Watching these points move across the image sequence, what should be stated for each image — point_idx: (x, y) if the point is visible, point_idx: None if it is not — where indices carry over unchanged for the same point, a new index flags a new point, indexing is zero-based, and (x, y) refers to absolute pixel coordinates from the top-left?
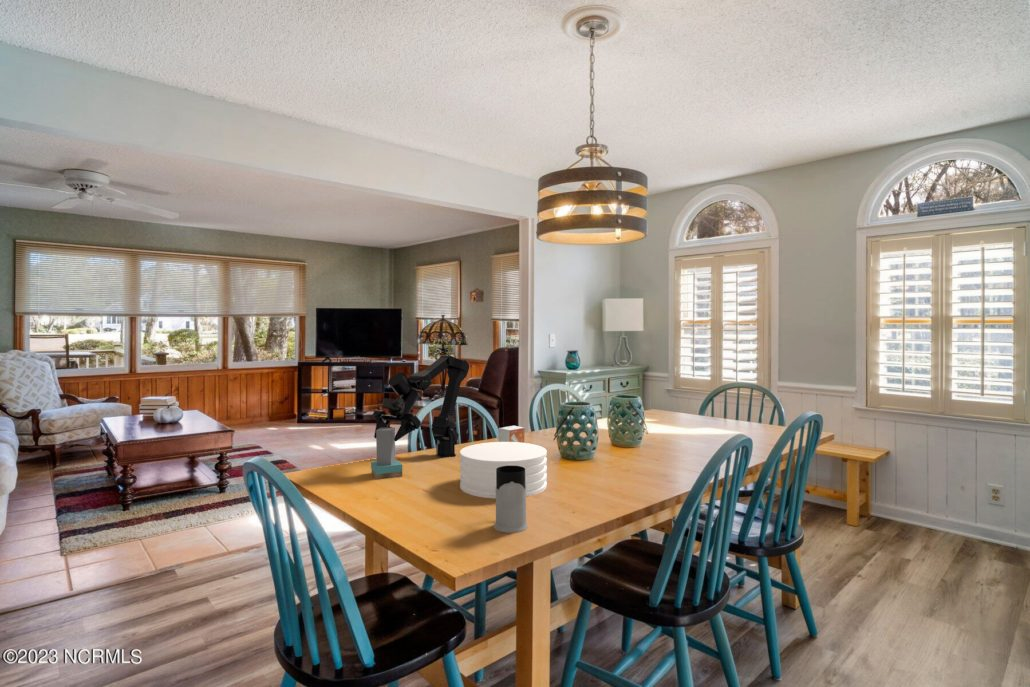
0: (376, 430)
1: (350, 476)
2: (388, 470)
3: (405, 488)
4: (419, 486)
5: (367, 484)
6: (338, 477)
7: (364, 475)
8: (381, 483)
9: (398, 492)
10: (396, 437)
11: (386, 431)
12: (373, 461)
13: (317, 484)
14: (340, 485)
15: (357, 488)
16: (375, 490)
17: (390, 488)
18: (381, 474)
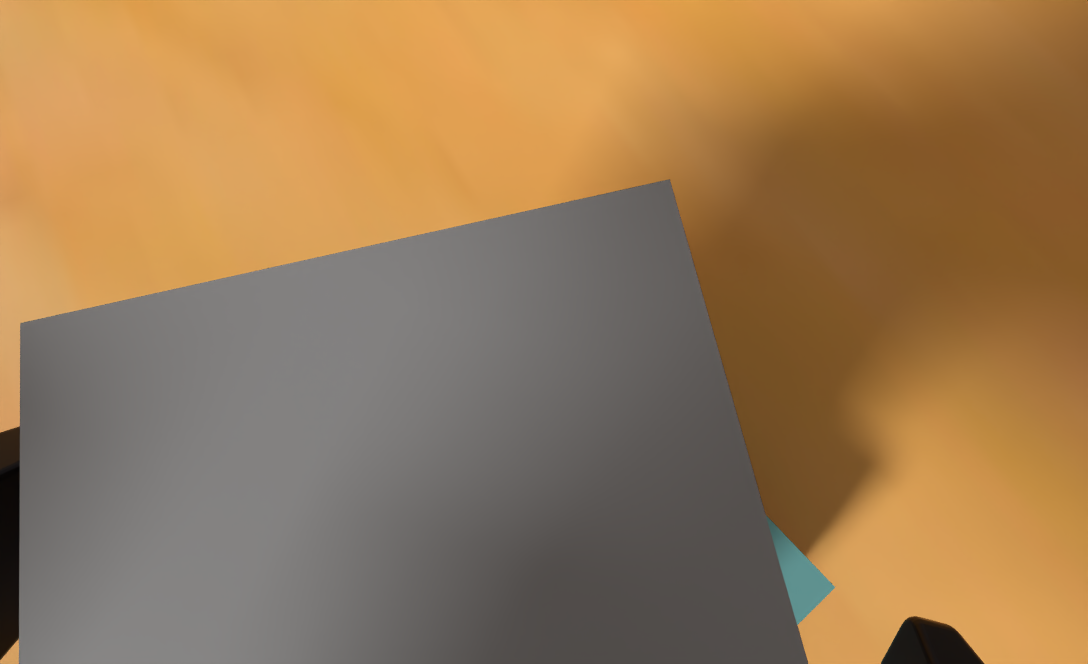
0: (656, 194)
1: (935, 366)
2: None
3: (135, 157)
4: (24, 248)
5: (552, 159)
6: (1041, 289)
7: (800, 454)
8: (431, 228)
9: (157, 44)
10: (13, 443)
11: (227, 305)
12: (799, 609)
13: (1044, 16)
14: (793, 56)
15: (572, 29)
16: (379, 30)
17: (272, 117)
18: None
